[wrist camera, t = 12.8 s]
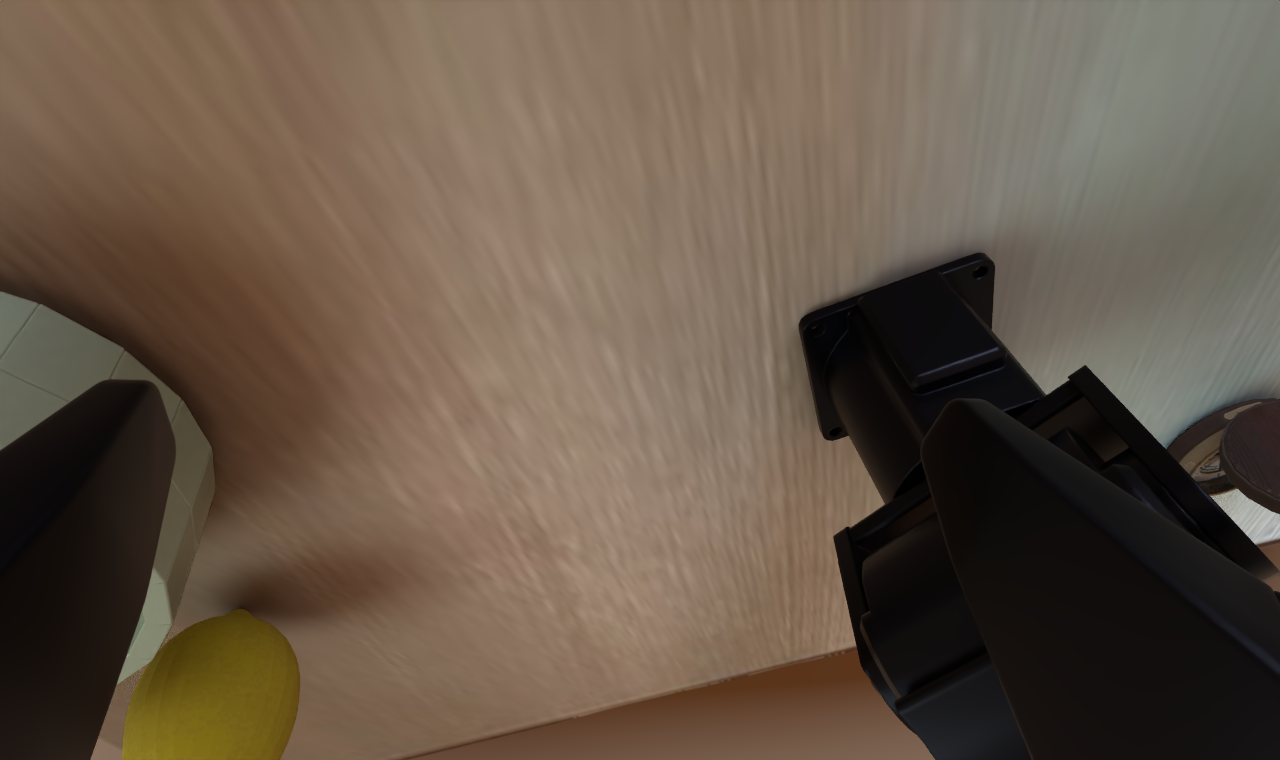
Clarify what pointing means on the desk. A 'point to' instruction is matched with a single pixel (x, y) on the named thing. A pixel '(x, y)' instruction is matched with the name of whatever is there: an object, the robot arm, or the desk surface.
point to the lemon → (216, 694)
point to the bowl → (61, 371)
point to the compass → (1236, 451)
